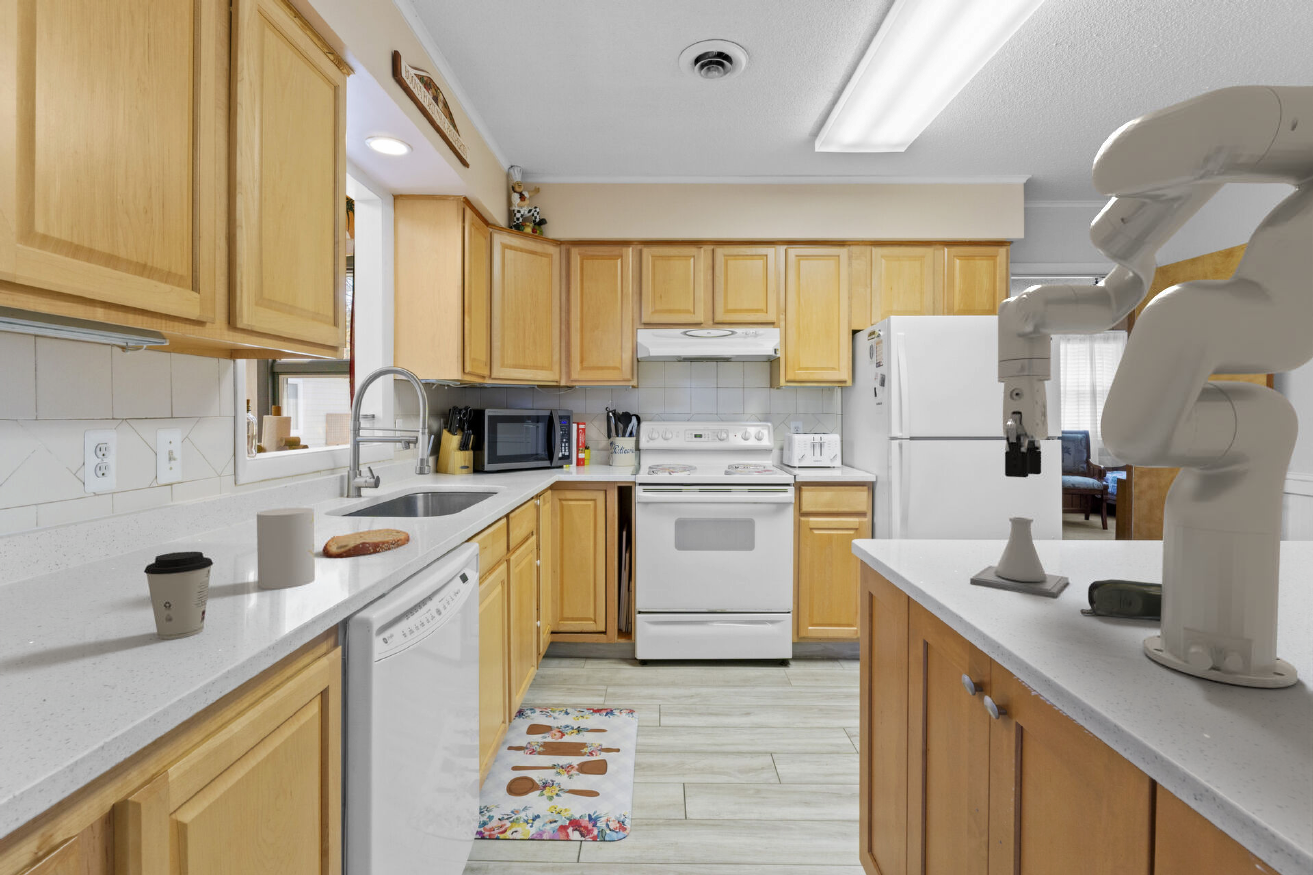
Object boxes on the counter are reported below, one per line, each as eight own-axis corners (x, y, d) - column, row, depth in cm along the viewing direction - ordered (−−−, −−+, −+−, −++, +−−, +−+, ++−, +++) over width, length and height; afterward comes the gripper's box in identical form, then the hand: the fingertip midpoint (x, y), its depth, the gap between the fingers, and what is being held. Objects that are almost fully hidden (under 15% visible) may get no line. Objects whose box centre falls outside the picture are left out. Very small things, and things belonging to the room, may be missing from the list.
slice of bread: (405, 537, 142) (405, 521, 142) (421, 551, 127) (421, 533, 127) (318, 545, 133) (317, 528, 133) (324, 562, 118) (324, 543, 117)
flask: (985, 573, 104) (986, 516, 103) (1017, 570, 106) (1018, 513, 106) (1022, 585, 97) (1023, 522, 96) (1056, 581, 99) (1057, 520, 99)
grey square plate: (1055, 597, 93) (1055, 591, 93) (970, 583, 101) (970, 577, 101) (1068, 582, 102) (1068, 576, 102) (989, 569, 110) (989, 565, 110)
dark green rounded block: (1196, 584, 84) (1075, 575, 87) (1211, 589, 81) (1085, 580, 84) (1194, 619, 84) (1073, 609, 87) (1209, 626, 81) (1084, 616, 84)
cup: (324, 580, 103) (323, 510, 102) (273, 591, 96) (272, 516, 96) (299, 573, 107) (297, 506, 107) (248, 584, 100) (247, 512, 100)
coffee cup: (227, 626, 80) (226, 551, 80) (173, 645, 73) (171, 563, 73) (188, 621, 82) (186, 548, 82) (131, 639, 75) (129, 559, 75)
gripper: (1039, 366, 91) (1039, 479, 91) (1060, 374, 104) (1059, 473, 104) (984, 370, 96) (984, 477, 97) (1010, 377, 109) (1010, 472, 109)
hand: (1023, 475), depth 100 cm, fingers open, 9 cm apart
